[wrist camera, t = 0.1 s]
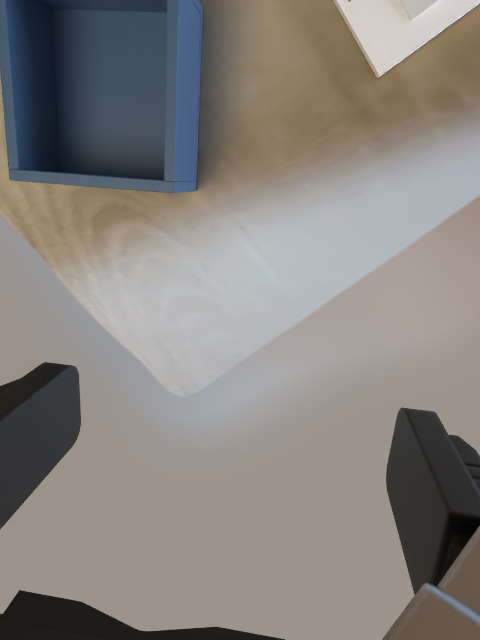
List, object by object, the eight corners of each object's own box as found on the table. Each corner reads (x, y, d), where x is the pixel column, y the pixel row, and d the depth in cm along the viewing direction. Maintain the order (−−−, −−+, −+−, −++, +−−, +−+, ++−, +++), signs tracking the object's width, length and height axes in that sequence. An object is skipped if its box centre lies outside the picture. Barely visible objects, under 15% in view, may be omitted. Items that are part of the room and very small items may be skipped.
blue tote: (47, 0, 36) (-10, -39, 29) (203, 5, 34) (179, -35, 28) (57, 179, 40) (9, 180, 33) (196, 191, 38) (174, 193, 32)
